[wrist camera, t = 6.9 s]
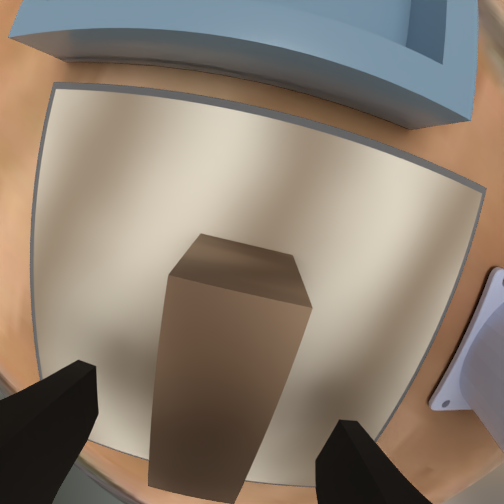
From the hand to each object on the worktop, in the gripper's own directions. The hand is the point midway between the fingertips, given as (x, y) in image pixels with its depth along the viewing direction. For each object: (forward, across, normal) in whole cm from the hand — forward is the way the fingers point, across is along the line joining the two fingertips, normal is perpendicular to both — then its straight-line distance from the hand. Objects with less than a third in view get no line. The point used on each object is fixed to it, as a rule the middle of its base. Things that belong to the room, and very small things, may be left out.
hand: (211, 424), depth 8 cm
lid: (+4, 0, 0) cm, 4 cm away
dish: (+5, +2, -17) cm, 18 cm away
